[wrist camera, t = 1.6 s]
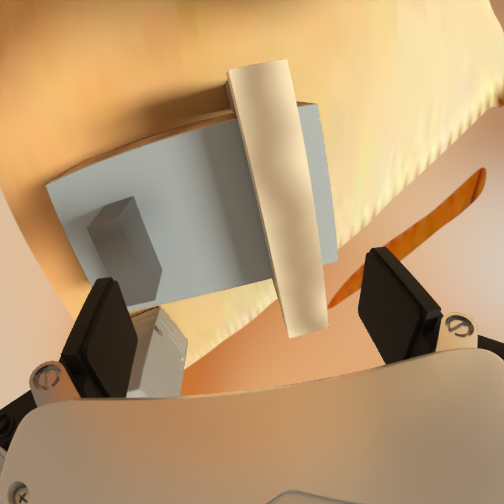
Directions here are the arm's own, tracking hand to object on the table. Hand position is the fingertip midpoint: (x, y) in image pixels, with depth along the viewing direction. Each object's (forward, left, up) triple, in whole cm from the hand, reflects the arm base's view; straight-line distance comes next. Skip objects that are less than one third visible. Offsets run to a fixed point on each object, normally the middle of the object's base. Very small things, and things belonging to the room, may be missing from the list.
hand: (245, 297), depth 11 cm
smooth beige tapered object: (-4, +3, -16) cm, 17 cm away
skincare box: (+17, +22, -27) cm, 39 cm away
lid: (+4, +3, -19) cm, 20 cm away
